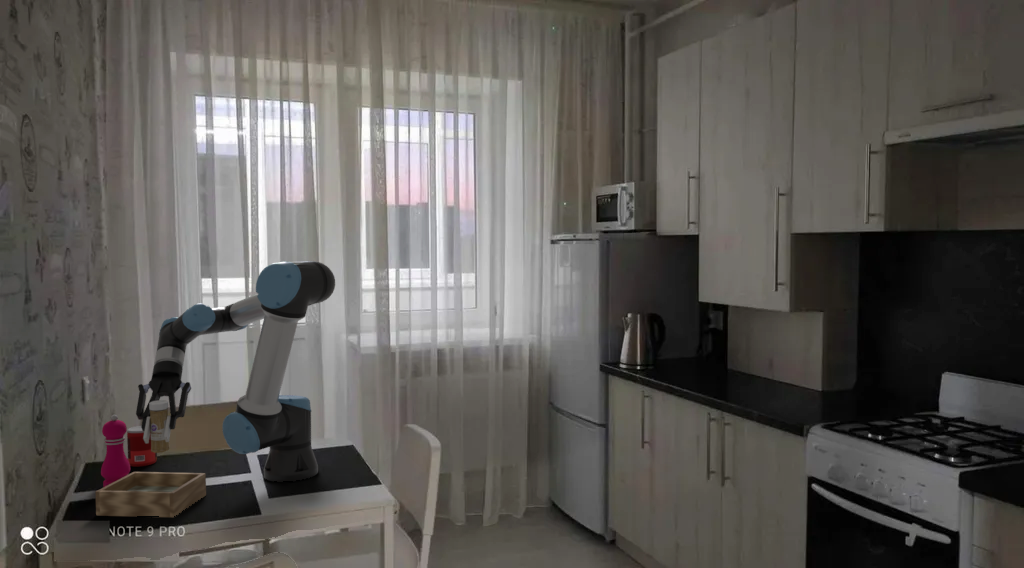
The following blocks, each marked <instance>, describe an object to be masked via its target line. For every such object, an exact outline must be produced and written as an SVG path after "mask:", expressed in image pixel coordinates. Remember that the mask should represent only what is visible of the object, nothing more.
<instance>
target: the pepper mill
mask: <svg viewBox="0 0 1024 568" xmlns="http://www.w3.org/2000/svg"><path fill="white" fill-rule="evenodd" d="M127 429H128V427H127V424H126V423H125V422H124V421H123V420H120V419H119V417H118V415H117V414H113V415H111V416H110V420H109V421H107V422H105V423H104V425H102V428H101V432H102V435H103V436H104V437H105V438H104V445H105V446H106V454H105V457H104V459H103V463H102V464H101V469H100V475H101V477H102V478H103V479H104V480H103V482H102V483H103V485H102V486H103V487H105V486H107V485H109V484H111V483H113V482H115V481H117V480H119V479H121V478H123V477H125V476H127V475H129V474H130V472H131V466H130V464H129V461H128V456H126V453H125V449H124V444H125V442H126V440H125V439H126V437H125V436H124V435H125V434H127ZM103 487H102V488H103Z"/></svg>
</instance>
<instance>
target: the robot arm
mask: <svg viewBox="0 0 1024 568" xmlns="http://www.w3.org/2000/svg"><path fill="white" fill-rule="evenodd" d="M335 278H336V277H335V275H334V273H333V271H332V270H331V268H330V267H329V266H327V265H326V264H325V263H323V262H319V261H314V260H313V261H312V260H311V261H309V260H308V261H285V260H284V261H280V262H273V263H271V264H269V265H266V267H264V268H263V269H262V271H261V272H260V273H259V274H258V276H257V279H256V283H255V292H256V294H254V295H250V296H248V297H246V298H243V299H241V300H238V301H236V302H232V303H231V304H228V305H226V306H220V307H210V306H209V305H207V304H204V303H200V302H199V303H196V304H193V305H191V307H189V308H188V309H186V310H185V311H184V312H183V313H182V314H180V316H178V317H176V316H175V317H171V318H166V319H165V320H163V322H162V323H161V326H160V327H161V328H160V329H159V335H158V341H157V347H156V353H155V357H154V364H153V365H154V366H153V369H152V373H151V379H150V380H149V381H148V383H146V384H141V383H140V384H138V386H137V388H138V391H139V393H138V398H137V399H138V400H137V404H136V411H135V415H136V417H137V419H138V420H141V421H142V422H141V425H142V426H141V425H140V426H141V428H142V430H143V431H144V436H143V439H144V441H145V443H149V437H150V432H151V420H150V409H149V403H150V402H152V401H157V400H161V398H162V397H168V406H169V410H170V412H169V413H170V415H169V414H168V416H167V421H166V427H165V433H164V439H165V441H166V442H169V443H170V438H171V437H170V436H171V433H172V430H175V428H176V424H177V419H179V418H184V417H185V414H186V410H187V409H186V408H187V404H188V403H187V402H188V396H189V393H190V392H191V391H192V386H191V383H190V382H189V381H186V382H183V381H182V378H183V377H182V376H183V369H184V368H183V367H184V362H185V356H186V350H187V345H189V344H190V343H191V342H193V341H194V340H195V339H196V338H198V337H199V336H204V335H211V334H218V333H225V332H236V331H240V330H241V331H242V330H244V329H246V328H248V326H249V325H250V324H253V323H255V322H259V321H261V320H263V322H262V324H261V330H260V334H259V337H258V342H257V346H256V349H255V354H254V358H253V362H252V366H251V371H250V375H249V379H248V382H247V388H246V391H245V394H244V395H242V396H241V397H239V398H238V400H237V402H236V408H235V411H233V412H230V413H229V414H228V415H226V416H225V417H224V419H223V421H222V429H221V430H222V434H223V437H224V440H225V442H226V444H227V446H228V447H229V448H230V449H231V450H232V451H233V452H235V453H237V454H239V455H247V454H253V453H254V454H255V453H257V452H258V451H261V450H264V449H266V448H269V452H268V455H267V457H266V461H265V464H264V468H263V478H264V479H265V480H266V479H267V481H270V482H274V481H277V482H276V483H284V482H283V481H293V482H297V481H296V480H300V481H303V480H302V479H304V480H307V479H306V478H308V479H310V477H311V478H313V477H314V476H316V475H318V473H319V465H318V460H317V459H316V455H315V453H314V450H313V447H312V409H311V400H310V399H309V398H308V397H307V396H303V395H296V394H295V395H293V394H292V395H291V394H289V395H287V394H285V395H284V394H281V390H282V386H283V381H284V378H285V374H286V370H287V366H288V363H289V357H290V355H291V350H292V346H293V342H294V338H295V336H296V335H295V334H296V329H297V327H298V323H299V321H301V320H303V319H305V318H306V314H307V312H308V307H309V306H313V305H314V304H319V303H323V302H325V301H326V300H328V299H329V298H330V297H331V296H332V294H333V293H334V290H335V287H336V279H335ZM180 388H181V393H180V398H179V399H180V400H179V404H178V405H179V406H178V410H177V406H176V397H175V394H176V392H177V391H178V390H179V389H180ZM149 390H151V391H152V392H151V396H150V398H149V401H148V403H147V405H146V400H147V394H148V393H149ZM145 406H146V407H145Z"/></svg>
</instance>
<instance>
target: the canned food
mask: <svg viewBox="0 0 1024 568" xmlns="http://www.w3.org/2000/svg"><path fill="white" fill-rule="evenodd" d="M141 426H142V424H141V425H136V426H135V425H134V426H131V427H129V428H127V431H126V437H127V438H126V439H127V441H126V442H127V459H128V461H129V464H130V467H135V468H137V467H146V466H151V465H154V464H155V463H157V460H158V453H154V452H151V432H150V437H149V443H145V441H144V439H143V436H144V431H143V430H142V428H141Z"/></svg>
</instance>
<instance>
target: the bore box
mask: <svg viewBox="0 0 1024 568" xmlns="http://www.w3.org/2000/svg"><path fill="white" fill-rule="evenodd" d="M206 477H207V475H206V472H167V471H166V472H161V471H133V472H131V473H130V472H129V474H128V475H127V476H125V477H123V478H121V479H119V480H117V481H115V482H113V483H111V484H109V485H107V486H105V487H102V488H100V489H98V490H95V514H96V516H100V517H103V516H104V517H105V516H106V517H107V516H108V517H137V516H159V517H158V518H175V517H177V516H178V515H180V514H181V513H182V511H183V510H184V511H186V510H187V509H189V508H190V507H191V506H193V505H194V504H196V503H197V502H199V501H201V498H202V499H203V498H204V497H205V496H207V483H206V482H207V480H206V479H207V478H206ZM198 500H199V501H198ZM195 502H196V503H195ZM192 504H193V505H192ZM189 506H190V507H189ZM186 508H187V509H186ZM185 509H186V510H185ZM184 511H183V512H184ZM179 513H180V514H179ZM176 515H177V516H176ZM174 516H175V517H174Z"/></svg>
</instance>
